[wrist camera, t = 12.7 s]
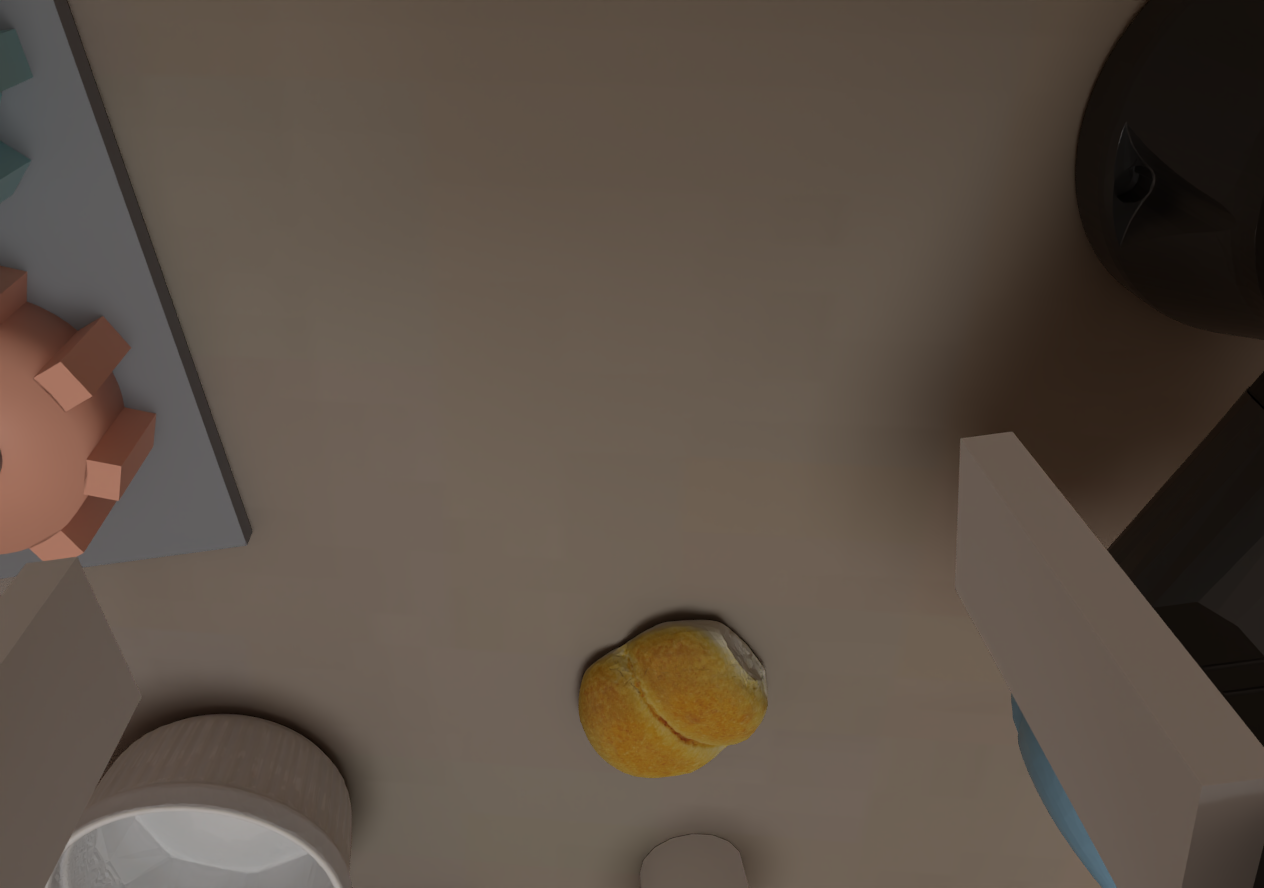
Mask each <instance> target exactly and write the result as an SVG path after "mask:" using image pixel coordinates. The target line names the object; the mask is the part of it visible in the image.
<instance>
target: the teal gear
mask: <svg viewBox="0 0 1264 888" xmlns="http://www.w3.org/2000/svg"><path fill="white" fill-rule="evenodd" d="M30 78H33V75H32V72H31V69H30V67H29V64H28V61H27V59H26V56H25V53H24V51H23V48H22V45H21V43H20V40H19V38H18V35H17V32H16V30H15V29H9V30H1V31H0V102H1V96H2V93H1V92H2V91H4V90H6V89H8V88H11V87H13V86H15V85H17V84H19V83H22V82H24V81H26V80H28V79H30ZM30 162H31V160H30V159H29V158H27V157H25V156H24V155H22V154H21V153H19V152H17V151H16V150H14V149H13V148H11V147H9V146H8V145H6V144H5V143H3V142H1V141H0V203H1V202H2V201H4V200H5V199H7V198H8V197H10V196H11V195H13V193H14V191H15V190H16V188H17V186H18V184H19V182H20V180H21V179H22V177H23V175H24V173H25V171H26V169H27V168H28V166H29V164H30Z"/></svg>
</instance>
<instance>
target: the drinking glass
mask: <svg viewBox="0 0 1264 888" xmlns="http://www.w3.org/2000/svg"><path fill="white" fill-rule="evenodd" d="M640 886H641V888H749V886H748V882H747V878H746V874H745V871H744V867H743V863H742V859H741V855H740V852H739V851H738V850H737V849H736V848H735V847H734V846H733V845H732V844H731V843H730V842H729V841H726V840H724V839H721V838H719V837H716V836H714V835H703V834H689V835H685V836H680V837H675V838H671V839H670V840H668V841H666V842H664V843H662V844H660V845H658V846H657V847H655V848H654V849H653V850H652V851H651V852H650V853H649V854H648V855H647V857H646V858H645V859H644V860H643V863H642V867H641V871H640Z"/></svg>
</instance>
